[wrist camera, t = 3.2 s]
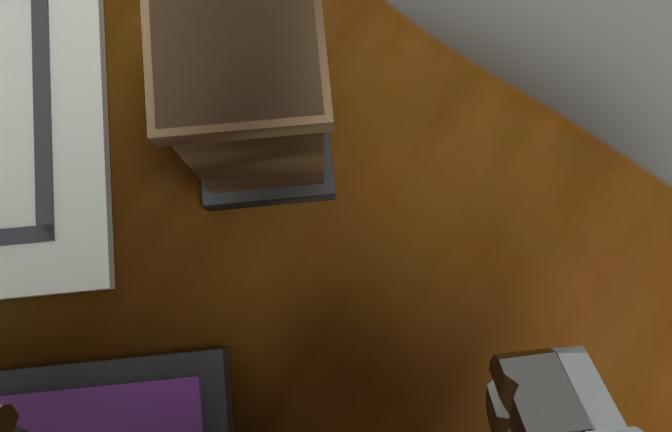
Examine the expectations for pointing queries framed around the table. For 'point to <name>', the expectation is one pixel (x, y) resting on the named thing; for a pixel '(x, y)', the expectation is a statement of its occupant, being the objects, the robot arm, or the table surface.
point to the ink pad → (125, 394)
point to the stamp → (242, 97)
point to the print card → (54, 150)
